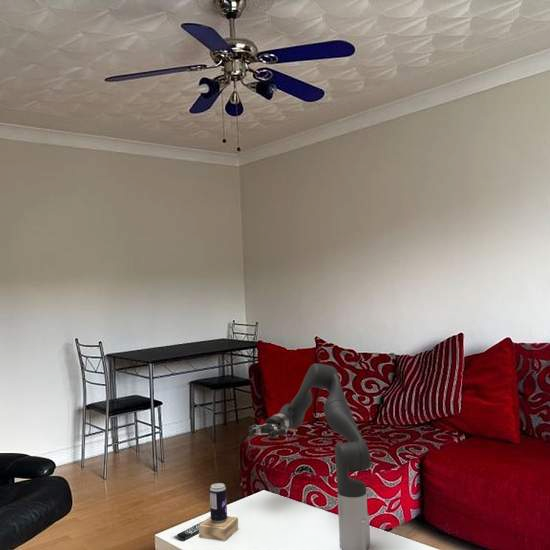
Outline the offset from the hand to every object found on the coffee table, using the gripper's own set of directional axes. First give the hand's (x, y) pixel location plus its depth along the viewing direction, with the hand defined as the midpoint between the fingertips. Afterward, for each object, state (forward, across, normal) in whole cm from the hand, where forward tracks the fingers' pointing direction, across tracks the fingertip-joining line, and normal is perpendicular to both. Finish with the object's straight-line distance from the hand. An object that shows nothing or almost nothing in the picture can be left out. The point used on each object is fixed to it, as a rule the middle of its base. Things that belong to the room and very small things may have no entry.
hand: (260, 434), depth 212 cm
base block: (+18, -9, +30) cm, 36 cm away
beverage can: (+18, -9, +26) cm, 33 cm away
